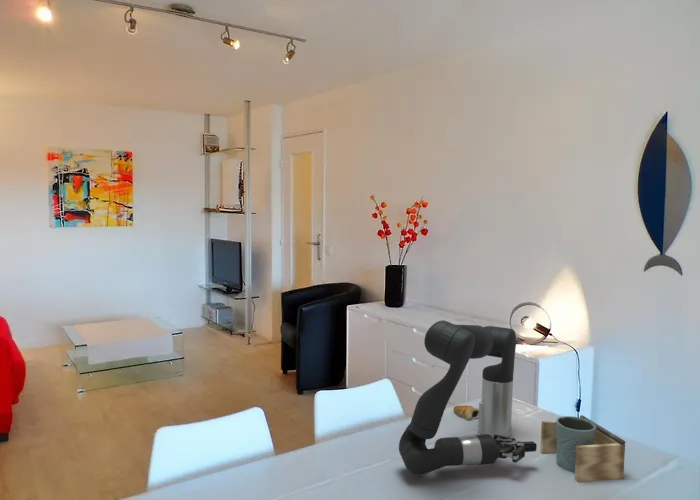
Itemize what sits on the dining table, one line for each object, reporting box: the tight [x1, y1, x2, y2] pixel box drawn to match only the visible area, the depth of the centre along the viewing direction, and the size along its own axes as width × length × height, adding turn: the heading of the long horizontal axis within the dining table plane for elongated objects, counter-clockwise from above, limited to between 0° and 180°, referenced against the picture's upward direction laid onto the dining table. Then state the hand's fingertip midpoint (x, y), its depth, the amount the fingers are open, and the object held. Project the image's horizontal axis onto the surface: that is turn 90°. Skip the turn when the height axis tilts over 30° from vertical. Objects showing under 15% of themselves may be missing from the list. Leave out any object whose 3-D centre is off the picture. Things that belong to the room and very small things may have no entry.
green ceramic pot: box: [555, 415, 596, 473], centre depth 154 cm, size 10×10×12 cm
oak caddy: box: [539, 414, 626, 483], centre depth 155 cm, size 13×18×10 cm
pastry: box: [453, 404, 479, 421], centre depth 191 cm, size 9×7×4 cm
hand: (534, 446), depth 152 cm, fingers closed
